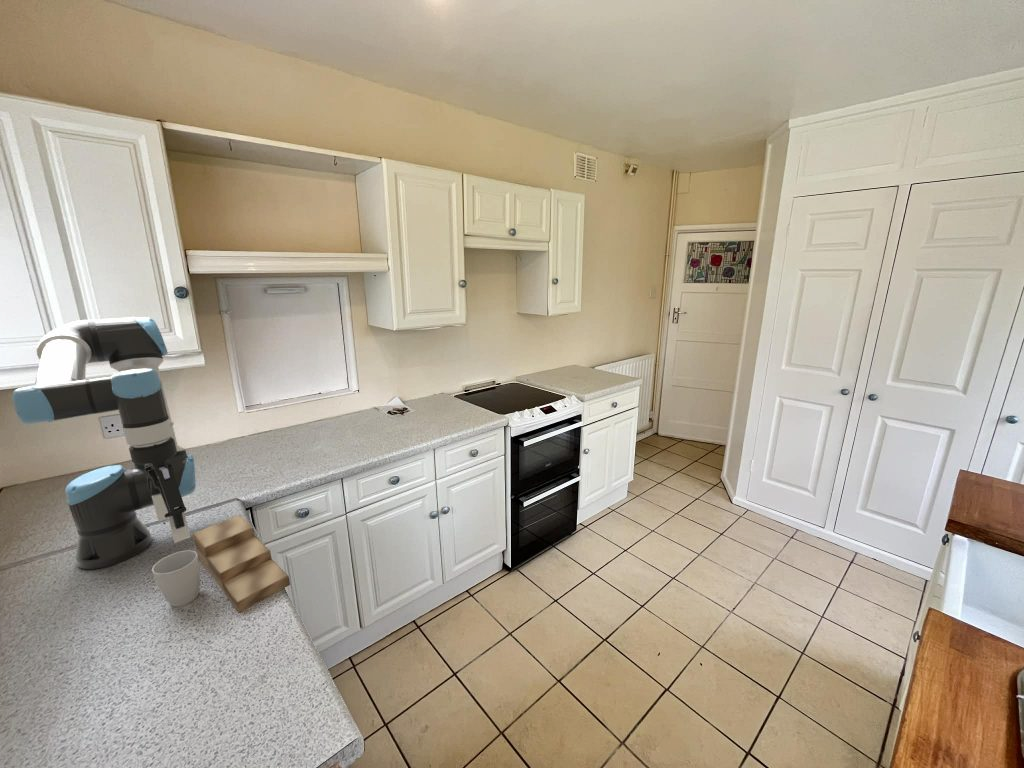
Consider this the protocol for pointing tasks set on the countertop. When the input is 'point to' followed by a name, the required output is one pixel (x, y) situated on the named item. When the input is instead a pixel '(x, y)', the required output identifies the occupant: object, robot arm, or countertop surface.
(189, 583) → the cup
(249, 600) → the riser
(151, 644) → the countertop surface
